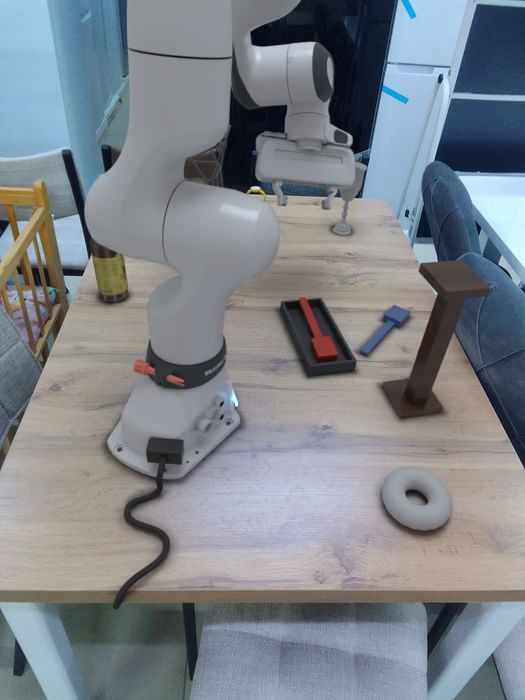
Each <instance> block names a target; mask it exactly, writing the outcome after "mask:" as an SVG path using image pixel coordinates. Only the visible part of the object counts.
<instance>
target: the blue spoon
mask: <svg viewBox="0 0 525 700" xmlns="http://www.w3.org/2000/svg"><path fill="white" fill-rule="evenodd" d="M410 316H411V311H410V310H408V309H407V308H404V307H401V306H398V305H396V304H393V305H392V306H391V307H390V308H389V309H388V310H387V311H386V312H385V313H384V315H383V318H382V321H383V322H385V323H383V325H382V326H381V327H380V328H379V329H378V330H377V332H376V333H374V334H373V336H372V337H371V338H370V339H369V340H368V341H367V342H366V343H365V344H364V346H363V347H361V348H360V350H359V354H361V355H364V356H365V357H367V356H369V355H370V353H371V352H372V351H373V350H374V349H375V348H376V347H377V346H378V344H379V343H380V342H381V341H383V339H384V338H385V337H386V335H388V333H389V332H390V331H391V330H393V328H394V327H397V328H401V327H402V326H403V325H404V324H405V322H406V321H407V320H408V319H409V318H410Z"/></svg>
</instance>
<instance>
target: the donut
mask: <svg viewBox="0 0 525 700" xmlns="http://www.w3.org/2000/svg"><path fill="white" fill-rule="evenodd" d="M411 490H412V491H416V492H420V493H421V494H422V495H423V496H424V497H425V498H426V499H427V503H426V504H424V505H421V504H416V503H415V502H413V501H411V500H410V499H409V498H408V496H407V495H406V493H407V491H411ZM381 495H382V496H381V497H382V498H381V499H382V502H383V503H384V506H385V509H386V511H387V512H388V513H389V514H390V515H391V516H392V518H393V519H395V521H397V522H398V523H400V524H401V525H402V526H405V527H407V528H410V529H412V530H418V531H429V530H430V531H431V530H436V529H438V528H440V527H441V526H444V524H445V523H446V522H447V521H448V520H449V518H450V517H451V515H452V509H453V500H452V499H453V498H452V494H451V492H450V490H449V488H448V486H447V484H445V483H444V482H443V481H442V480H441V478H440V477H438V475H436V474H435V473H433V472H431V471H430V470H427V469H424V468H422V467H416V466H404V467H399V468H397V469H395V470H393V471H391V472H390V473H389V474H388V475H387V476H386V477H385V479H384V482H383V485H382V488H381Z"/></svg>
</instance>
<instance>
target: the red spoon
mask: <svg viewBox="0 0 525 700" xmlns="http://www.w3.org/2000/svg"><path fill="white" fill-rule="evenodd" d="M297 298H298V299H297V300H298V301H299V304H300V306H301V308H302V311H303V313H304V316H305V318H306V321H307V323H308V325H309V328H310V330H311V333H312V335H313V338H311V341H310V345H311V348H312V350H313V353H314V355H315V358H316V360H317V362H323V361H332V360H337V357H338V353H337V350H336V348H335V346H334V344H333V341H332V339H331V337H330V336H328V337H322V334H321V332H320V330H319V327H318V325H317V323H316V320H315V318H314V316H313V313H312V311H311V309H310V306H309V304H308V302H307V299H308V298H307V297H306V296H301V297H297Z"/></svg>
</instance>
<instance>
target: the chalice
mask: <svg viewBox="0 0 525 700" xmlns="http://www.w3.org/2000/svg"><path fill="white" fill-rule="evenodd" d="M367 170H368V166H367V165H365V164H364V163H361V162H359V161H355V181H354V183H353V185H352V186H351V187H349V188H347V189H338V191H339V194H340V198H341V200H342V201H344V204H343V206H342V209H343V211H342V212H341V219H340V220H339V221H337V222H336V223H335V225H334V227H333V228H332V231H333V232H334V233H335V234H337V235H340V236H341V235H342V236H343V235H344V236H347V235H350V234H351V233H352V230H351V227H350V225H351V224H350V223H349V222H348V221H347V216H348V215H349V214H348V210H349V209H350V207H349V203H350V202H352V201H354V200H355V198H356V197H357V195H358V194H359V192H360V190H361V189H362V187H363V182H364V177H365V173H366V171H367Z"/></svg>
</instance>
